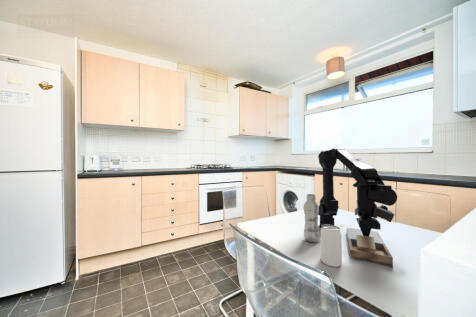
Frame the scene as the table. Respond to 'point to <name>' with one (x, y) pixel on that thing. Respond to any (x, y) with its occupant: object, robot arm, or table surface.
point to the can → (331, 245)
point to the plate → (354, 232)
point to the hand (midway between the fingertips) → (366, 239)
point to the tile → (366, 244)
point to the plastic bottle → (311, 219)
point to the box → (371, 255)
